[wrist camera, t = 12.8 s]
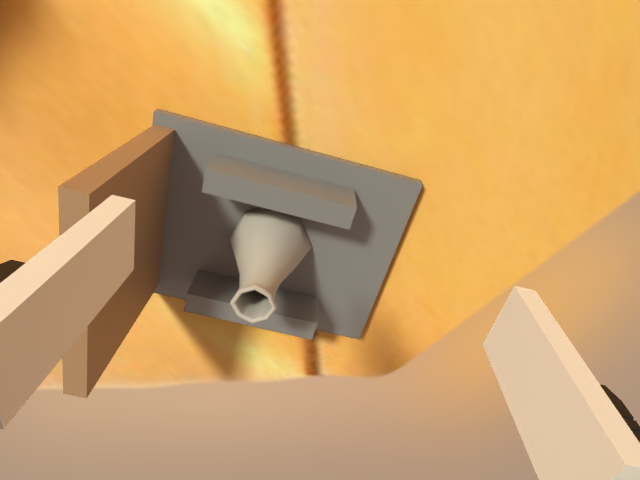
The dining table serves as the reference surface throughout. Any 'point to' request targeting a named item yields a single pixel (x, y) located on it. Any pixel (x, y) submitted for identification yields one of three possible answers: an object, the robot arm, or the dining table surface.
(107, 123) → the dining table surface
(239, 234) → the flask
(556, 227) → the dining table surface
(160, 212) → the shaker holder
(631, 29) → the dining table surface
